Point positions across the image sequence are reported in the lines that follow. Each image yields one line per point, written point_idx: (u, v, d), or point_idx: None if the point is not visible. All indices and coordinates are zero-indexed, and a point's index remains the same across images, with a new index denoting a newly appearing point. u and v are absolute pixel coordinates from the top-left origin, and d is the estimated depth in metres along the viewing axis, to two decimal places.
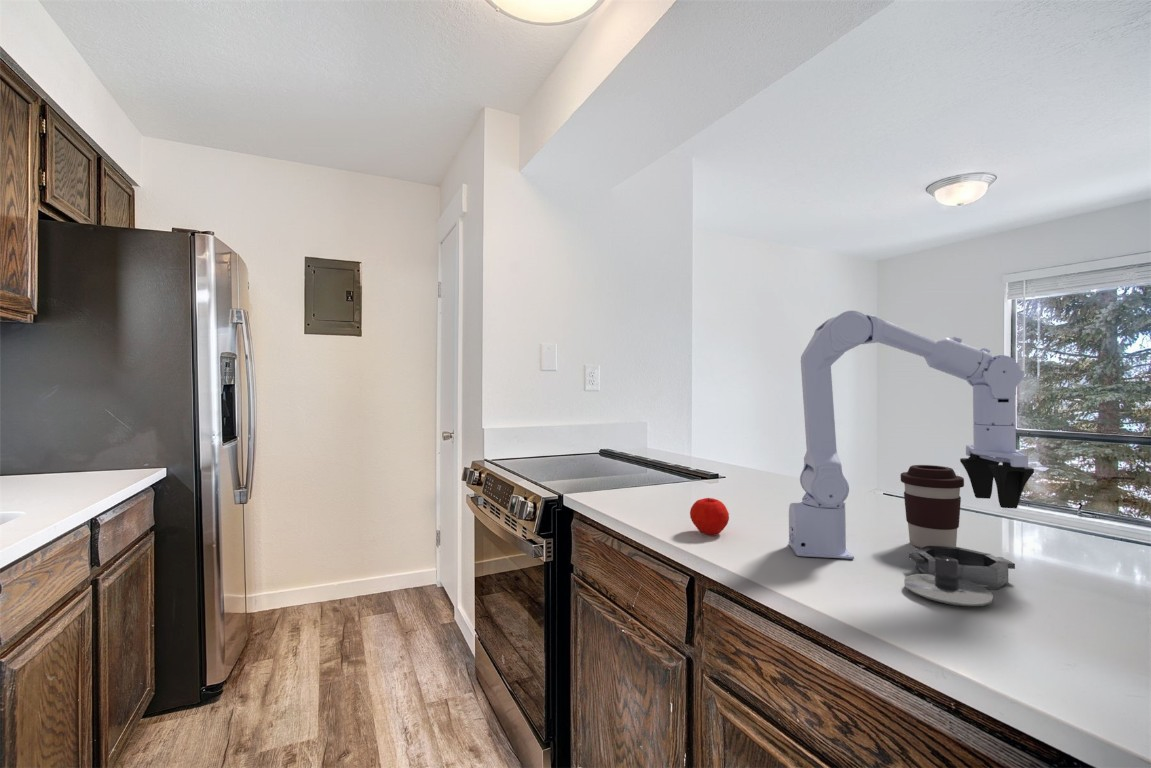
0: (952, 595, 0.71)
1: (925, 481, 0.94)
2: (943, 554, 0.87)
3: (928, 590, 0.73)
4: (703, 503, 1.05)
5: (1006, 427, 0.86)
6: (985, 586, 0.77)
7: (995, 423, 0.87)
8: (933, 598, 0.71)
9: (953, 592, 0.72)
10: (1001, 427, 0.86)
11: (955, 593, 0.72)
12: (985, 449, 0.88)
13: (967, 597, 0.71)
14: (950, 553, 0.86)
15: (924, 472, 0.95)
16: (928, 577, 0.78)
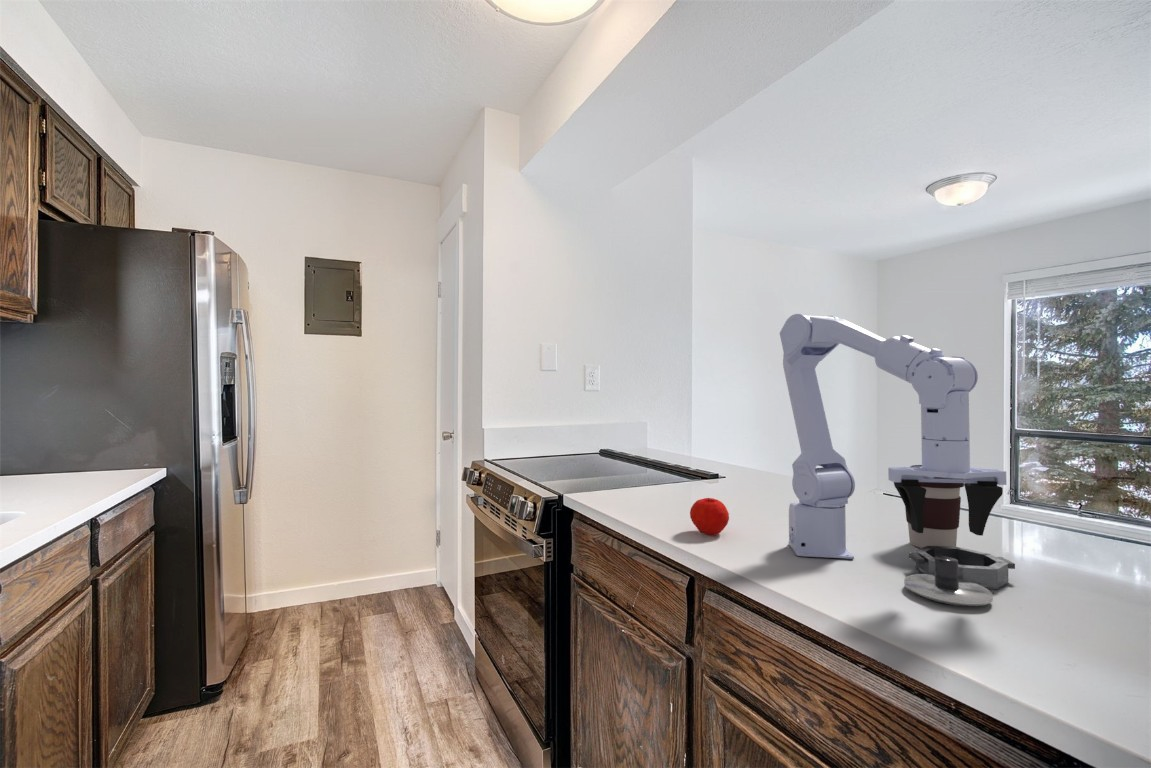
0: (952, 595, 0.71)
1: None
2: (943, 554, 0.87)
3: (928, 590, 0.73)
4: (703, 503, 1.05)
5: (924, 441, 0.75)
6: (985, 586, 0.77)
7: (925, 436, 0.75)
8: (933, 598, 0.71)
9: (953, 592, 0.72)
10: (922, 440, 0.76)
11: (955, 593, 0.72)
12: None
13: (967, 597, 0.71)
14: (950, 553, 0.86)
15: None
16: (927, 577, 0.78)
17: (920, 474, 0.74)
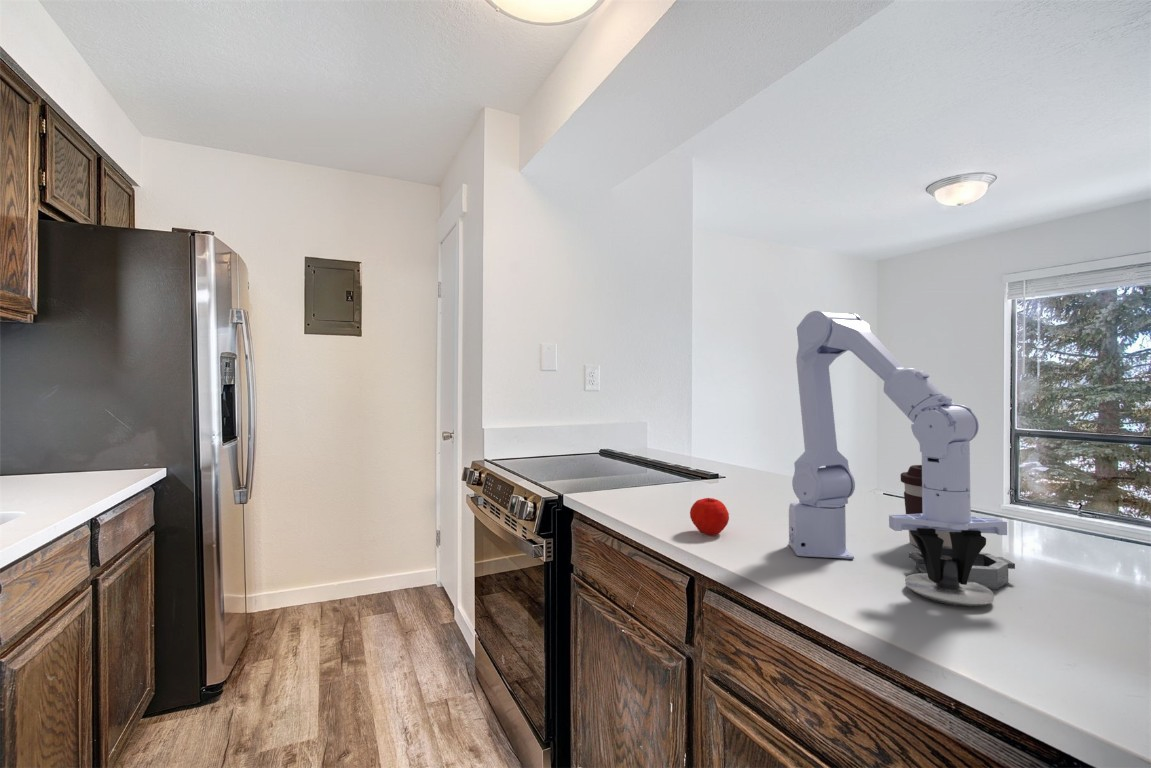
0: (953, 594, 0.71)
1: None
2: (943, 554, 0.87)
3: (929, 589, 0.73)
4: (703, 503, 1.05)
5: (925, 489, 0.75)
6: (985, 586, 0.77)
7: (926, 485, 0.75)
8: (935, 597, 0.71)
9: (954, 591, 0.72)
10: (923, 488, 0.76)
11: (957, 593, 0.72)
12: None
13: (968, 596, 0.71)
14: (950, 553, 0.86)
15: None
16: None
17: (921, 523, 0.74)
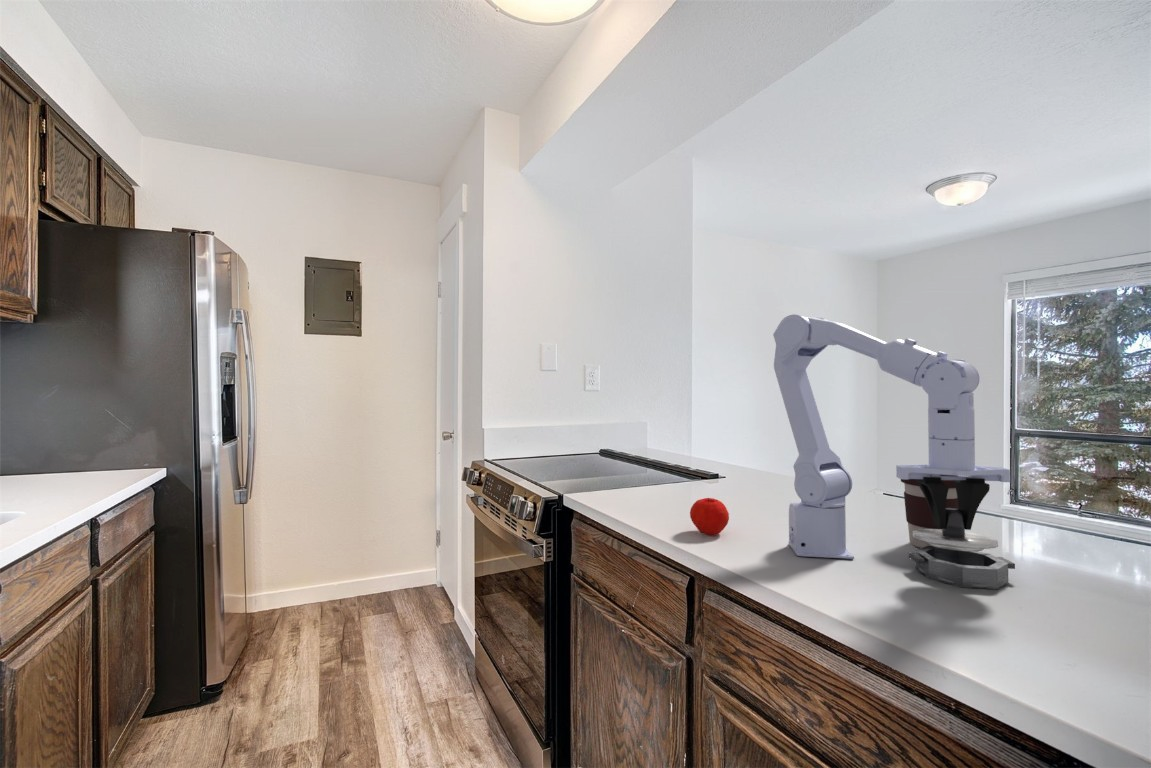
0: (958, 540, 0.75)
1: None
2: (943, 554, 0.87)
3: (935, 537, 0.77)
4: (703, 503, 1.05)
5: (931, 440, 0.78)
6: (985, 586, 0.77)
7: (935, 436, 0.78)
8: (939, 543, 0.75)
9: (959, 539, 0.76)
10: (929, 439, 0.79)
11: (961, 540, 0.75)
12: None
13: (972, 542, 0.74)
14: (950, 553, 0.86)
15: None
16: (936, 530, 0.82)
17: (927, 472, 0.77)
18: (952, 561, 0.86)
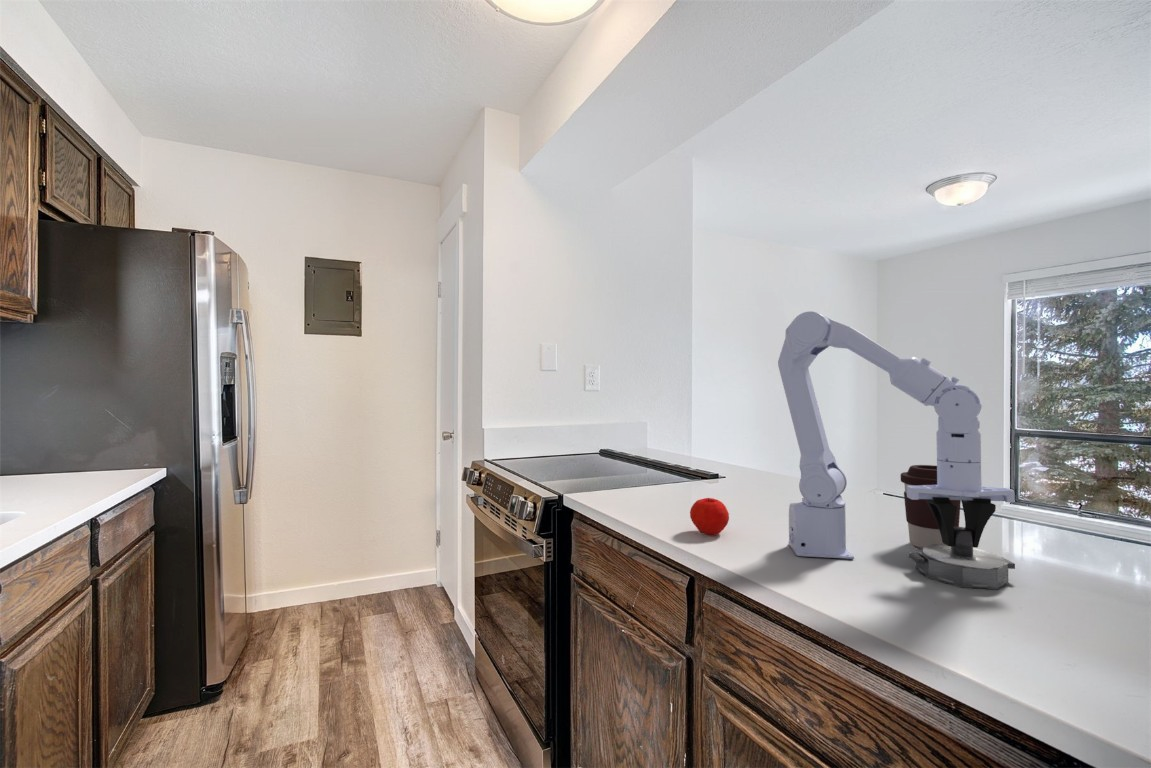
0: (966, 560, 0.79)
1: (925, 481, 0.94)
2: None
3: (944, 556, 0.81)
4: (703, 503, 1.05)
5: (940, 462, 0.83)
6: (985, 586, 0.77)
7: (949, 459, 0.81)
8: (948, 562, 0.79)
9: (967, 558, 0.80)
10: (937, 461, 0.83)
11: (969, 559, 0.79)
12: None
13: (980, 562, 0.78)
14: None
15: (924, 472, 0.95)
16: (945, 546, 0.86)
17: (936, 492, 0.81)
18: None
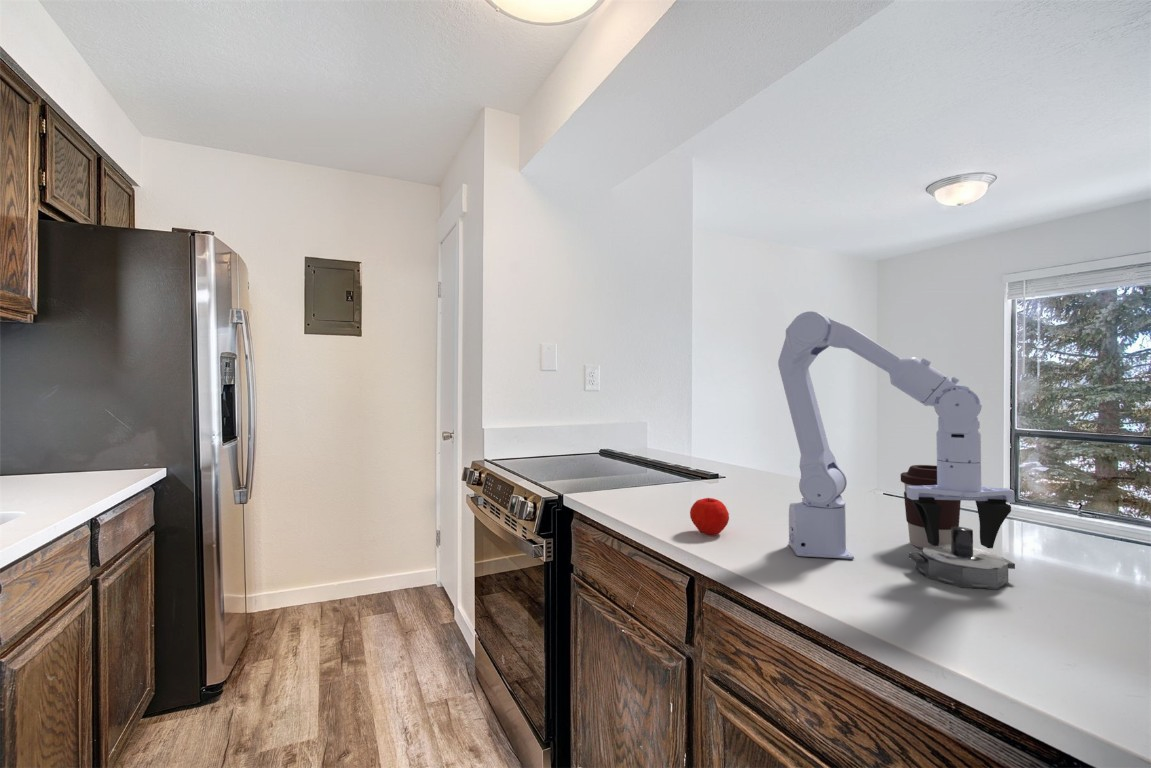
0: (966, 560, 0.79)
1: (925, 481, 0.94)
2: None
3: (944, 556, 0.81)
4: (703, 503, 1.05)
5: (940, 462, 0.83)
6: (985, 586, 0.77)
7: (949, 459, 0.81)
8: (948, 562, 0.79)
9: (967, 558, 0.80)
10: (937, 461, 0.83)
11: (969, 559, 0.79)
12: None
13: (980, 562, 0.78)
14: None
15: (924, 472, 0.95)
16: (945, 546, 0.86)
17: (936, 493, 0.81)
18: None
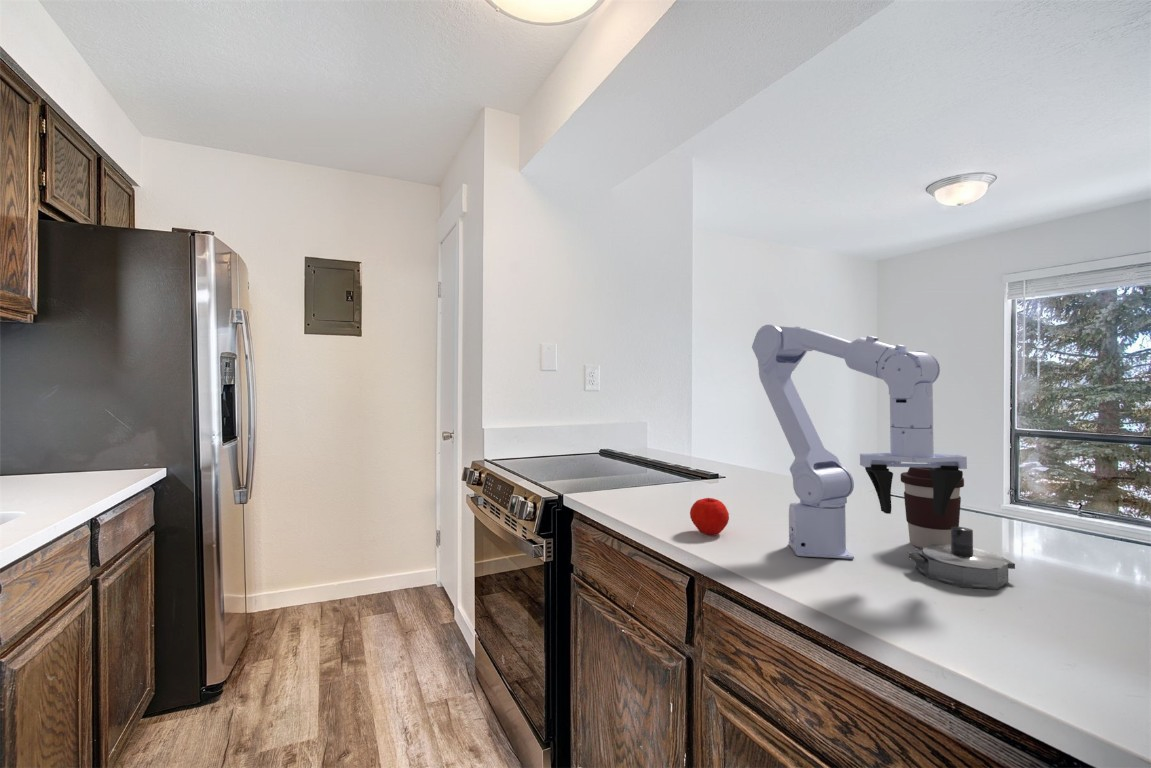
0: (966, 560, 0.79)
1: (925, 481, 0.94)
2: None
3: (944, 556, 0.81)
4: (703, 503, 1.05)
5: (892, 429, 0.81)
6: (985, 586, 0.77)
7: (894, 425, 0.81)
8: (948, 562, 0.79)
9: (967, 558, 0.80)
10: (890, 428, 0.82)
11: (969, 559, 0.79)
12: None
13: (980, 562, 0.78)
14: None
15: (924, 472, 0.95)
16: (945, 546, 0.86)
17: (888, 459, 0.80)
18: None
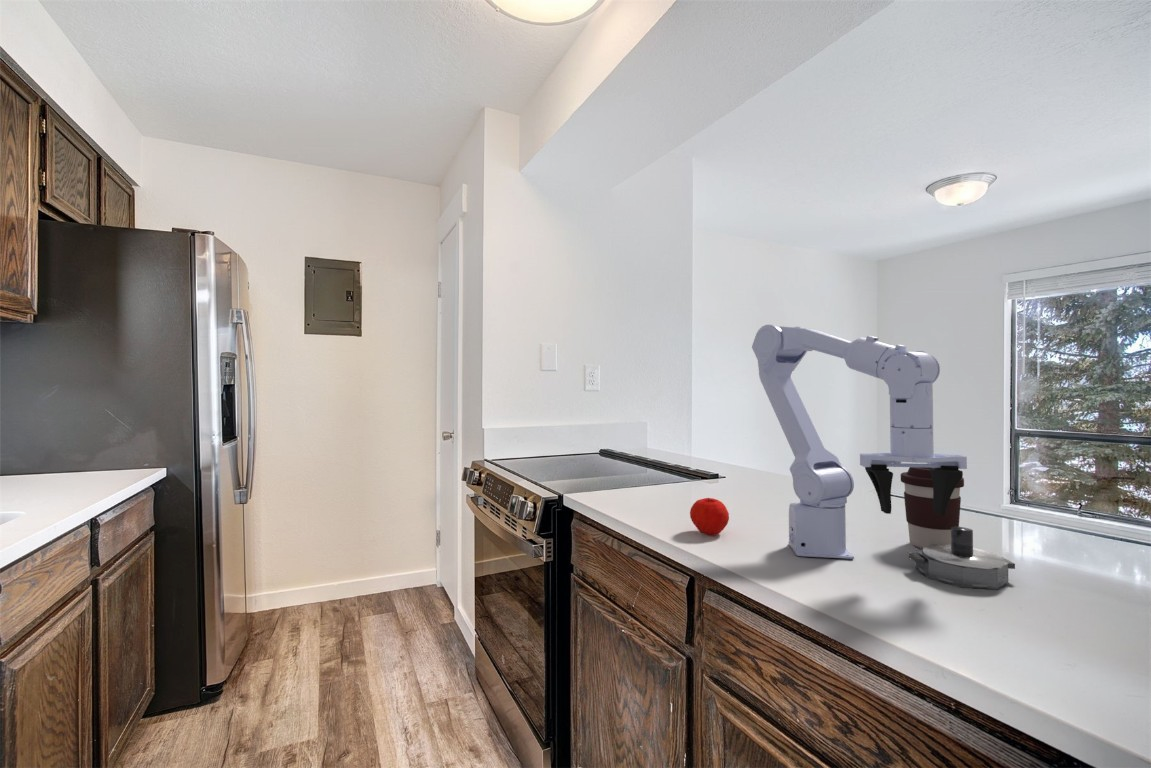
0: (966, 560, 0.79)
1: (925, 481, 0.94)
2: None
3: (944, 556, 0.81)
4: (703, 503, 1.05)
5: (892, 429, 0.81)
6: (985, 586, 0.77)
7: (894, 425, 0.81)
8: (948, 562, 0.79)
9: (967, 558, 0.80)
10: (890, 428, 0.82)
11: (969, 559, 0.79)
12: None
13: (980, 562, 0.78)
14: None
15: (924, 472, 0.95)
16: (945, 546, 0.86)
17: (888, 459, 0.80)
18: None
